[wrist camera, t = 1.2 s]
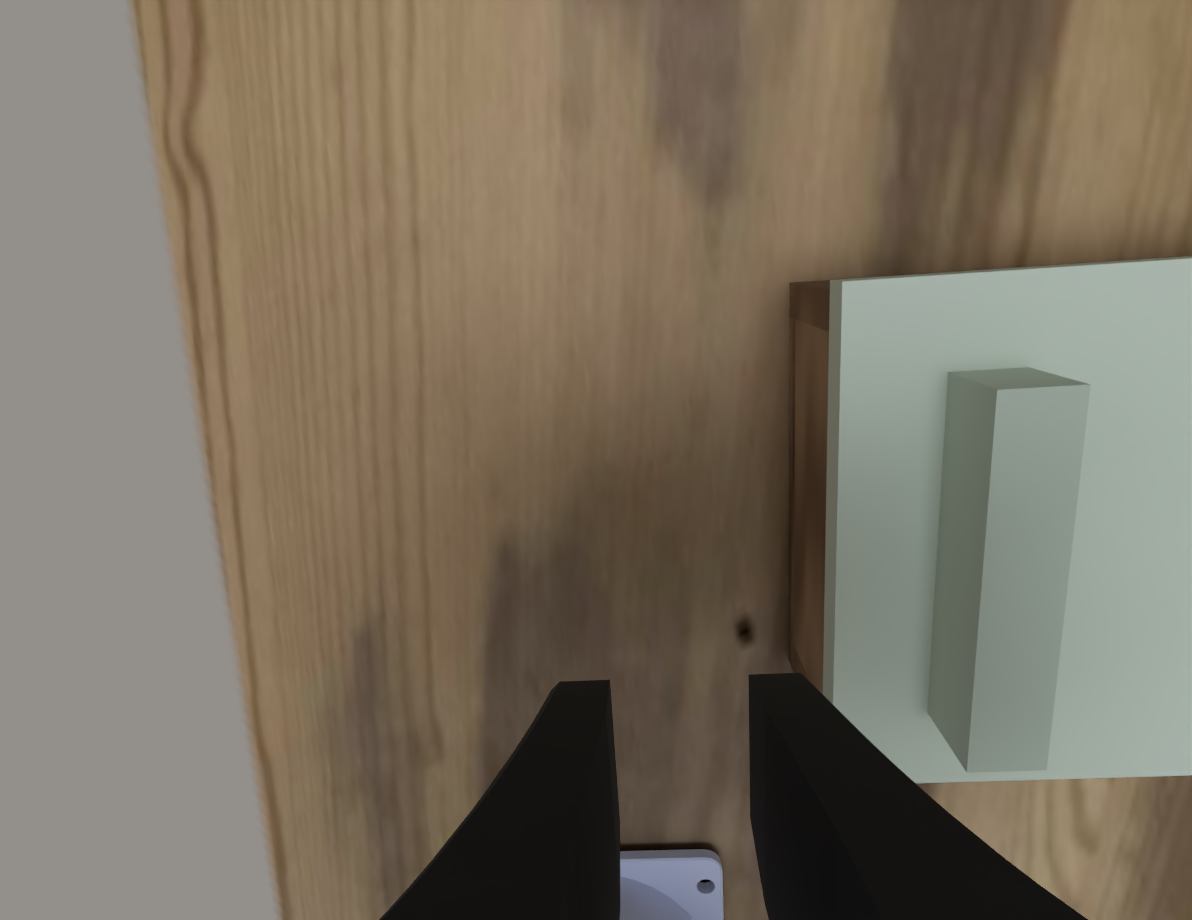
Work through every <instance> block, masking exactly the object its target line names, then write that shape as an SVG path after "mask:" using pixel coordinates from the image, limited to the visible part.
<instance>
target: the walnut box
mask: <svg viewBox="0 0 1192 920" xmlns="http://www.w3.org/2000/svg"><path fill="white" fill-rule="evenodd" d="M829 309H830V280H826V281H811V282H796V283H790V419H789V661H790V664H791V666H792V669H793V671H794V673H801V674H803V675H804V676H805V677H806V678H807V679H808V680H809V681H810V682H811V683H812V684H813V685H814V686H815V687H816V688H817V689H818V690H819V691H820V692H821V693H822V694H823V652H824V595H825V538H826V481H827V423H828V366H829Z"/></svg>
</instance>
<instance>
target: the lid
mask: <svg viewBox="0 0 1192 920" xmlns="http://www.w3.org/2000/svg"><path fill="white" fill-rule="evenodd" d="M823 695H824V696H825V697H826V698H827V699H828V700H829V701H830V702H831V703H832V704H833V705H834V706H835V707H836V708H837V709H838V710H839V711H840V712H841V713H842V714H843V715H844V716H845V717H846V718H847V719H848V720H849V721H850V722H851V723H852V724H853V725H854V726H855V727H856V728H857V729H858V730H859V731H860V732H861V733H862V734H863V735H864V736H865V737H866V738H867V739H868V740H869V741H870V742H871V743H872V744H873V745H875V746H876V747H877V748H878V749H879V750H880V751H881V752H882V753H883V754H884V755H885V756H886V757H887V758H888V759H889V760H890V761H891V762H893V763H894V764H895V765H896V766H897V767H898V768H899V769H900V770H901V771H902V772H904V773H905V774H906V775H907V776H908V777H909V778H910V779H911V780H912V781H913V782H914V783H942V782H976V781H1011V780H1045V779H1080V778H1115V777H1149V776H1184V775H1192V256H1182V257H1167V258H1152V259H1137V260H1122V261H1107V262H1092V263H1077V264H1062V265H1047V266H1032V267H1017V268H1002V269H987V270H972V271H957V272H942V273H927V274H912V275H897V276H882V277H867V278H852V279H837V280H830V309H829V366H828V423H827V481H826V538H825V595H824V652H823Z"/></svg>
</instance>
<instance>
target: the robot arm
mask: <svg viewBox="0 0 1192 920" xmlns="http://www.w3.org/2000/svg"><path fill="white" fill-rule="evenodd" d="M749 738H750V818H751V824H752V830H753V836H754V842H755V848H756V854H757V860H758V866H759V872H760V878H761V883H762V889H763V895H764V900H765V906H766V910H767V913H768V917H769V920H1088V919H1086V918H1085V917H1083V916H1082V915H1081V914H1079V913H1078V912H1076V911H1075V910H1074V909H1072V908H1071V907H1069V906H1068V905H1067V904H1065V903H1064V902H1062V901H1061V900H1060V899H1058V898H1057V897H1055V896H1054V895H1053V894H1051V893H1050V892H1048V891H1047V890H1046V889H1044V888H1043V887H1041V886H1040V885H1039V884H1037V883H1036V882H1035V881H1033V880H1032V879H1031V878H1029V877H1028V876H1027V875H1026V874H1024V873H1023V872H1022V871H1020V870H1019V869H1018V868H1016V867H1015V866H1014V865H1012V864H1011V863H1010V862H1009V861H1007V860H1006V859H1005V858H1003V857H1002V856H1001V855H1000V854H998V853H997V852H996V851H995V850H994V849H992V848H991V847H990V846H989V845H987V844H986V843H985V842H984V841H982V840H981V839H980V838H979V837H978V836H976V835H975V834H974V833H973V832H971V831H970V830H969V829H968V828H967V827H965V826H964V825H963V824H962V823H960V822H959V821H958V820H957V819H956V818H954V817H953V816H952V815H951V814H949V813H948V812H947V811H946V810H945V809H944V808H942V807H941V806H940V805H939V804H938V803H937V802H936V801H934V800H933V799H932V798H931V797H930V796H929V795H928V794H927V793H925V792H924V791H923V790H922V789H921V788H920V787H919V786H918V785H917V784H916V783H914V782H913V781H912V780H911V779H910V778H909V777H908V776H907V775H906V774H905V773H904V772H902V771H901V770H900V769H899V768H898V767H897V766H896V765H895V764H894V763H893V762H891V761H890V760H889V759H888V758H887V757H886V756H885V755H884V754H883V753H882V752H881V751H880V750H879V749H878V748H877V747H876V746H875V745H873V744H872V743H871V742H870V741H869V740H868V739H867V738H866V737H865V736H864V735H863V734H862V733H861V732H860V731H859V730H858V729H857V728H856V727H855V726H854V725H853V724H852V723H851V722H850V721H849V720H848V719H847V718H846V717H845V716H844V715H843V714H842V713H841V712H840V711H839V710H838V709H837V708H836V707H835V706H834V705H833V704H832V703H831V702H830V701H829V700H828V699H827V698H826V697H825V696H824V695H823V694H822V693H821V692H820V691H819V690H818V689H817V688H816V687H815V686H814V685H813V684H812V683H811V682H810V681H809V680H808V679H807V678H806V677H805V676H804V675H803V674H801V673H784V674H757V675H749ZM704 879H707V880H711V881H709V882H706V883H703V882H699V881H701V880H704ZM379 920H724V912H723V873H722V865H721V860H720V857H719V856H718V855H717V854H716V853H715V852H713V851H711V850H706V849H692V850H651V851H620V817H619V803H618V789H617V775H616V761H615V747H614V733H613V718H612V704H611V690H610V680H595V681H567V682H559V683H558V684H557V685H556V686H555V687H554V688H553V689H552V690H551V692H550V693H549V695H548V697H547V699H546V701H545V702H544V704H543V706H542V707H541V709H540V711H539V713H538V714H537V716H536V718H535V719H534V721H533V722H532V724H531V726H530V727H529V729H528V731H527V732H526V734H525V735H524V737H523V738H522V740H521V741H520V743H519V744H518V746H517V747H516V749H515V751H514V752H513V754H512V755H511V756H510V758H509V759H508V761H507V762H506V764H505V765H504V766H503V768H502V769H501V771H500V772H499V773H498V775H497V776H496V778H495V779H494V781H493V782H492V783H491V785H490V786H489V788H488V789H487V791H486V792H485V793H484V795H483V796H482V798H481V799H480V800H479V802H478V803H477V804H476V806H475V807H474V808H473V810H472V811H471V812H470V813H469V815H468V816H467V817H466V818H465V820H464V821H463V822H462V823H461V825H460V826H459V827H458V828H457V830H456V831H455V832H454V833H453V835H452V836H451V837H450V838H449V840H448V841H447V842H446V843H445V845H444V846H443V847H442V848H441V850H440V851H439V852H438V853H437V855H436V856H435V857H434V858H433V860H432V861H431V862H430V863H429V865H428V866H427V867H426V868H425V869H424V870H423V872H422V873H421V874H420V875H419V876H418V877H417V878H416V880H415V881H414V882H413V883H412V884H411V885H410V886H409V888H408V889H407V890H406V891H405V892H404V893H403V894H402V896H401V897H400V898H399V899H398V900H397V901H396V902H395V903H394V904H393V906H392V907H391V908H390V909H389V910H388V911H387V912H386V913H385V914H384V915H383V916H382V917H381V918H380V919H379Z"/></svg>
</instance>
